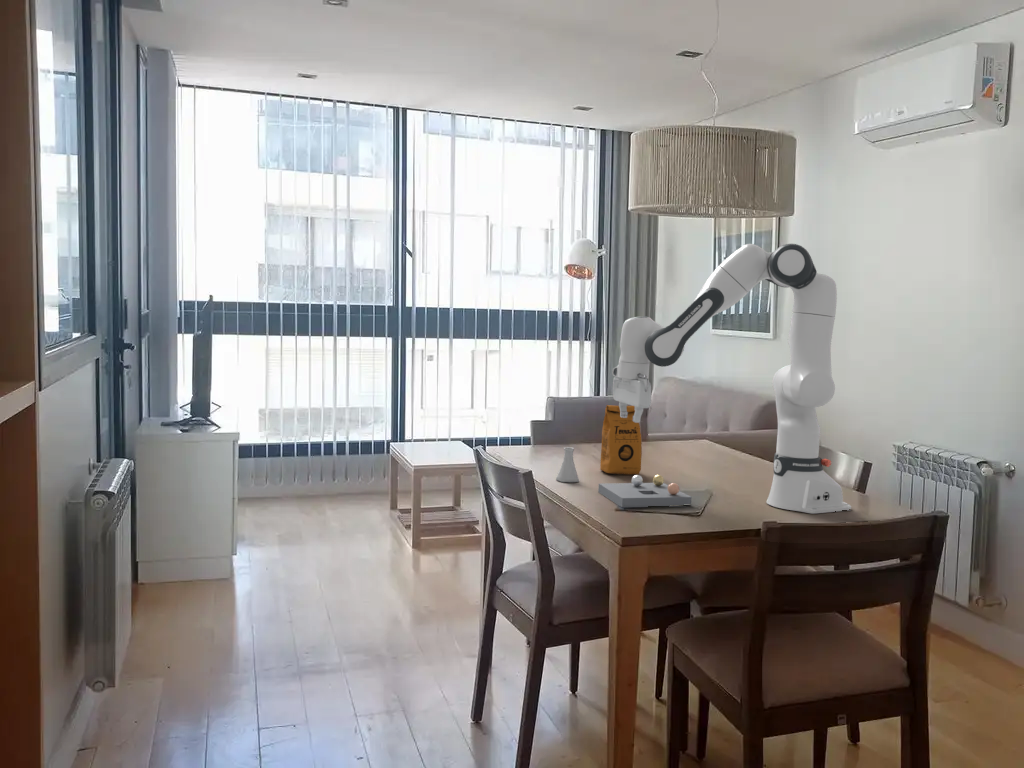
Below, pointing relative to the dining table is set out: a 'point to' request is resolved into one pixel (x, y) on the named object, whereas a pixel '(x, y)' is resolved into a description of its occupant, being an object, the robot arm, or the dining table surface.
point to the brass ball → (658, 480)
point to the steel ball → (637, 480)
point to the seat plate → (642, 495)
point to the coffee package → (620, 442)
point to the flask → (568, 467)
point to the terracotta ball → (673, 488)
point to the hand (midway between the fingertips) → (629, 419)
